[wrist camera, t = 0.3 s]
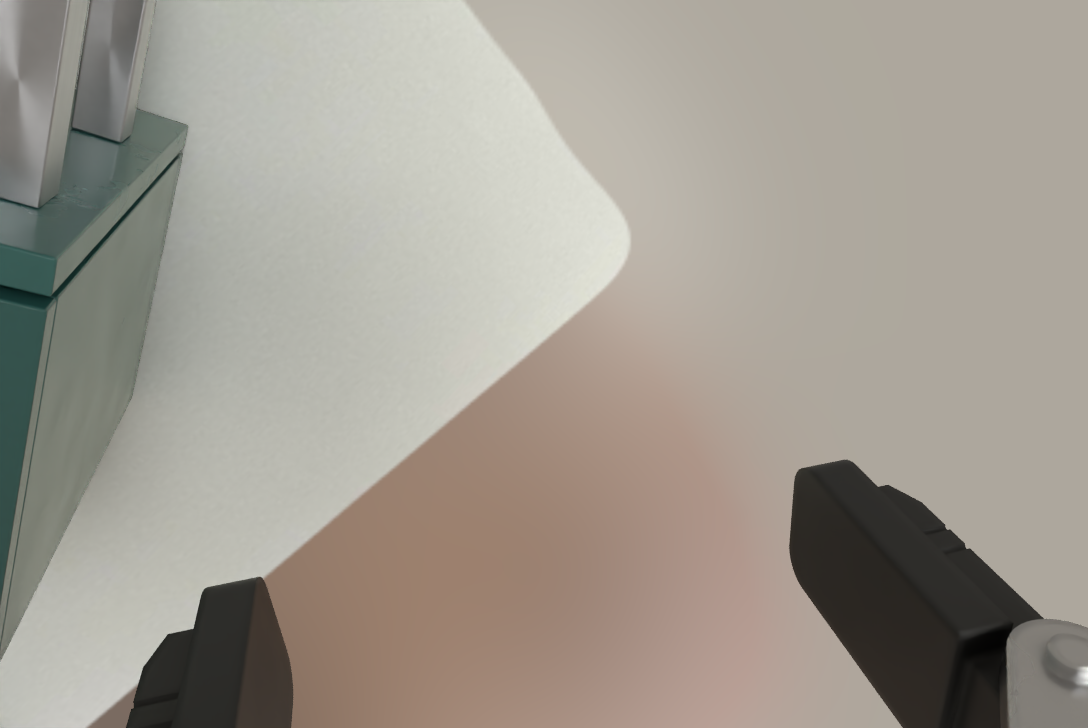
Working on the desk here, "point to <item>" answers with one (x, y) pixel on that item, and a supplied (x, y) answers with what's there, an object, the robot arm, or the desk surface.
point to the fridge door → (72, 132)
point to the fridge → (70, 387)
